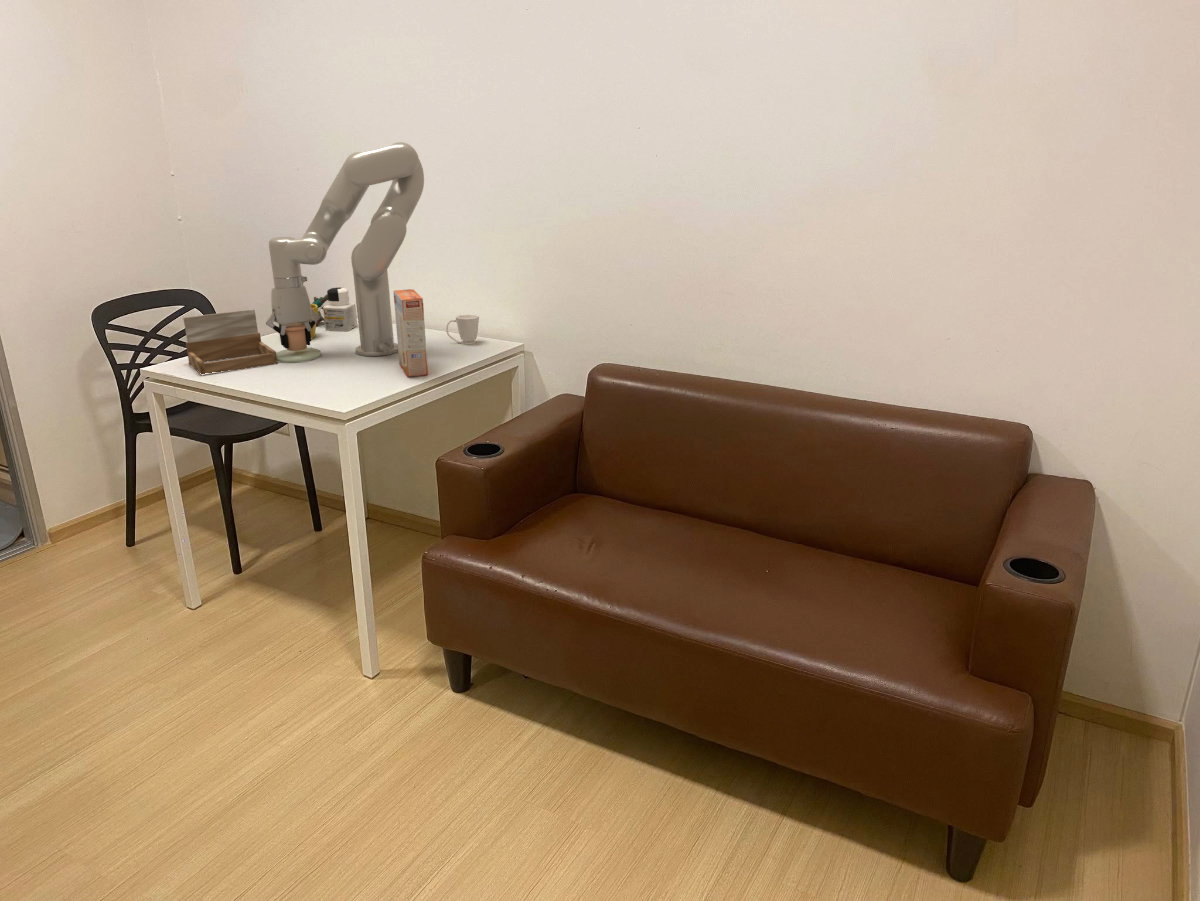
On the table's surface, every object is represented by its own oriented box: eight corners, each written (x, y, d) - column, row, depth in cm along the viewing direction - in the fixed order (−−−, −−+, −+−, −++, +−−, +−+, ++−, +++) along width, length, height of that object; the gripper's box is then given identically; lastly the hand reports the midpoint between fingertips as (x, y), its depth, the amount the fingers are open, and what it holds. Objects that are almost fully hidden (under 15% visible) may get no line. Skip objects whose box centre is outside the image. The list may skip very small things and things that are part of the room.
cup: (479, 345, 266) (478, 318, 263) (446, 346, 265) (444, 319, 262) (481, 339, 273) (479, 313, 270) (448, 340, 272) (446, 314, 269)
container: (325, 330, 285) (320, 290, 280) (335, 325, 292) (331, 285, 287) (347, 331, 284) (343, 291, 279) (358, 326, 291) (353, 286, 286)
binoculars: (324, 327, 298) (304, 303, 295) (346, 312, 297) (326, 287, 294) (318, 334, 290) (298, 309, 286) (341, 318, 289) (321, 293, 285)
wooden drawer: (277, 363, 248) (271, 317, 243) (202, 375, 237) (193, 327, 232) (261, 352, 259) (255, 308, 255) (189, 363, 248) (181, 317, 244)
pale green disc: (327, 357, 253) (327, 354, 253) (282, 365, 246) (281, 361, 246) (312, 348, 263) (312, 345, 263) (268, 355, 256) (267, 352, 256)
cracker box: (429, 375, 236) (423, 297, 228) (406, 378, 234) (400, 299, 226) (420, 362, 248) (414, 288, 241) (398, 364, 246) (392, 289, 239)
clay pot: (311, 348, 253) (308, 326, 251) (289, 352, 250) (286, 329, 247) (304, 344, 258) (301, 322, 256) (282, 347, 255) (279, 325, 252)
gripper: (314, 277, 255) (321, 339, 261) (253, 284, 245) (262, 348, 252) (323, 281, 249) (330, 344, 255) (260, 288, 240) (270, 353, 246)
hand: (296, 345), depth 254 cm, fingers closed on clay pot, 5 cm apart
